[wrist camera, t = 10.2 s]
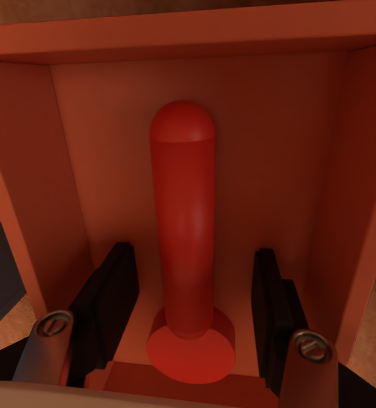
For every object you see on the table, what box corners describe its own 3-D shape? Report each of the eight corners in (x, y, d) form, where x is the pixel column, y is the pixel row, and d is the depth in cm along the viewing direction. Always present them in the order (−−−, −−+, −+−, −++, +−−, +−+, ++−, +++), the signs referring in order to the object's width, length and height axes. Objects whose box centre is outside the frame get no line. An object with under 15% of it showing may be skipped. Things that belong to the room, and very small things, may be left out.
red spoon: (125, 99, 10) (100, 104, 8) (249, 96, 9) (255, 100, 7) (156, 355, 15) (146, 395, 13) (233, 363, 15) (234, 406, 13)
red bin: (38, 48, 10) (-72, 28, 6) (366, 29, 8) (473, -11, 5) (109, 359, 17) (78, 434, 13) (293, 378, 15) (313, 469, 12)
